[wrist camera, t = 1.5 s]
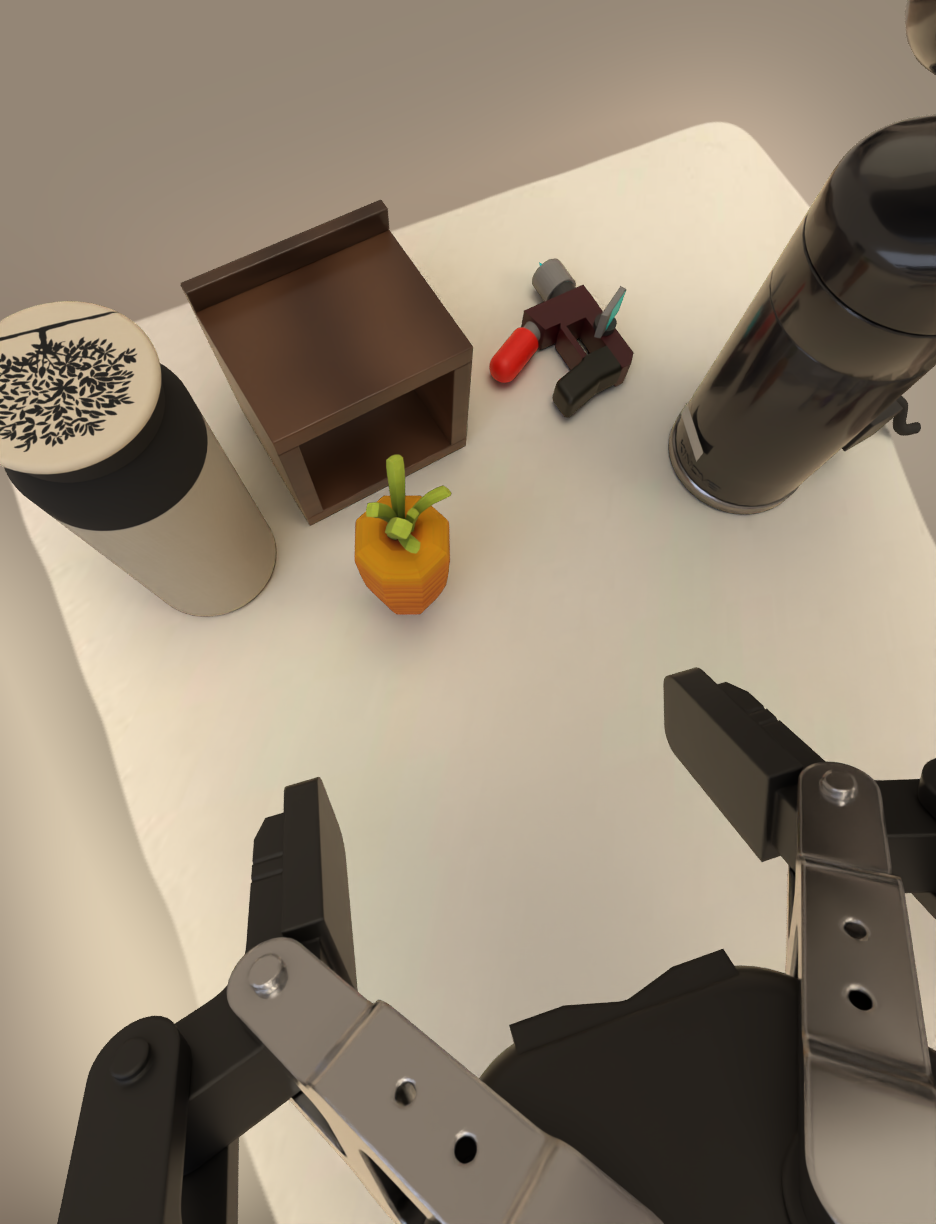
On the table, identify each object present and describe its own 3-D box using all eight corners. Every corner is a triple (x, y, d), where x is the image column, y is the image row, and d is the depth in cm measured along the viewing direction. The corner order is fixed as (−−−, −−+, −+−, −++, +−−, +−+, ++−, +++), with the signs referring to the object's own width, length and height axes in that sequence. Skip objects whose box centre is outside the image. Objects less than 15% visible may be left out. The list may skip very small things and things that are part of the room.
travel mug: (284, 606, 40) (171, 457, 23) (154, 628, 40) (-63, 491, 22) (270, 493, 43) (157, 281, 25) (146, 512, 42) (-56, 306, 25)
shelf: (394, 340, 47) (381, 198, 36) (465, 445, 44) (475, 328, 33) (242, 411, 44) (179, 282, 33) (310, 526, 42) (265, 428, 31)
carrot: (390, 556, 42) (364, 425, 27) (461, 583, 41) (473, 465, 27) (359, 624, 40) (315, 524, 26) (432, 653, 40) (429, 567, 26)
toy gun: (555, 267, 49) (567, 211, 45) (642, 385, 46) (664, 339, 42) (444, 315, 47) (445, 261, 43) (528, 441, 45) (538, 398, 40)
